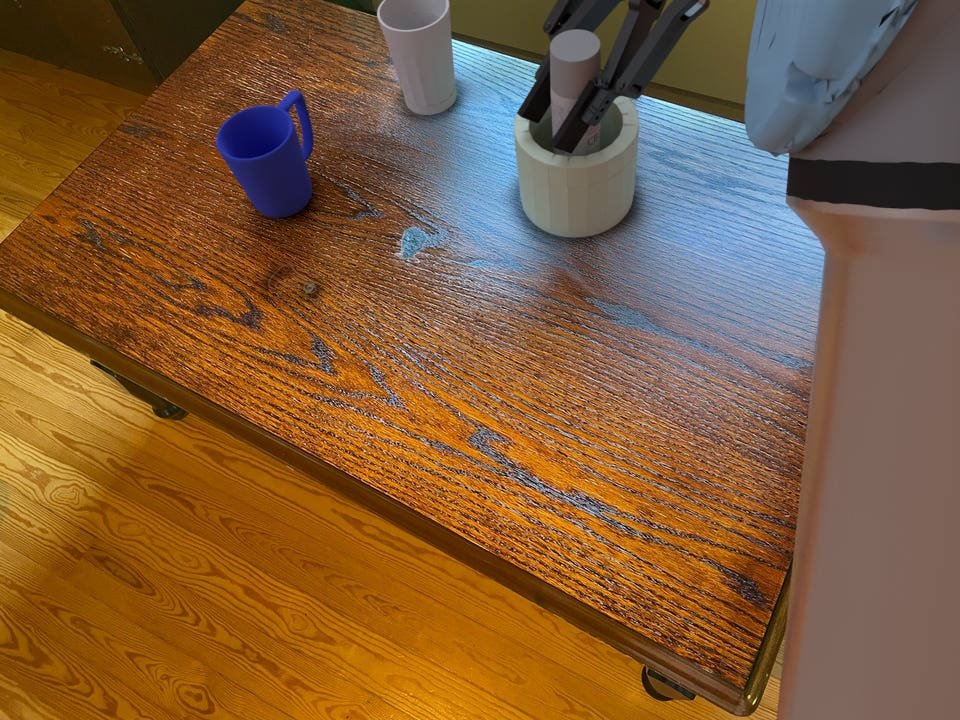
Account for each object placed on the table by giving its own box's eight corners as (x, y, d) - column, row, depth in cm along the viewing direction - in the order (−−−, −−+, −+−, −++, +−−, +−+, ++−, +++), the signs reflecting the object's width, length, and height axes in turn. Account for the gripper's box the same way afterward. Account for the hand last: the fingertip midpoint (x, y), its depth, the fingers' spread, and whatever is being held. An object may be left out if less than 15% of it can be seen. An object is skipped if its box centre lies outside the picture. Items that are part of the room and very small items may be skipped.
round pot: (654, 181, 84) (662, 107, 76) (592, 255, 80) (593, 185, 72) (562, 140, 89) (560, 67, 81) (499, 208, 85) (489, 137, 76)
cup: (457, 120, 93) (441, 31, 83) (392, 119, 94) (369, 31, 84) (468, 75, 97) (455, -15, 87) (406, 74, 98) (385, -14, 88)
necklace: (313, 295, 81) (311, 290, 80) (265, 292, 82) (262, 286, 81) (322, 270, 83) (319, 265, 82) (274, 267, 84) (272, 262, 83)
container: (595, 188, 80) (596, 64, 67) (550, 183, 81) (543, 60, 68) (603, 155, 82) (606, 29, 69) (559, 151, 83) (554, 26, 70)
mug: (350, 159, 91) (326, 89, 83) (296, 235, 86) (265, 168, 78) (292, 144, 94) (263, 75, 86) (236, 216, 89) (199, 150, 80)
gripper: (796, -50, 63) (624, 193, 73) (651, -132, 71) (516, 95, 82) (758, -91, 57) (577, 179, 67) (606, -175, 66) (467, 75, 76)
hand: (544, 132), depth 75 cm, fingers closed on container, 5 cm apart
